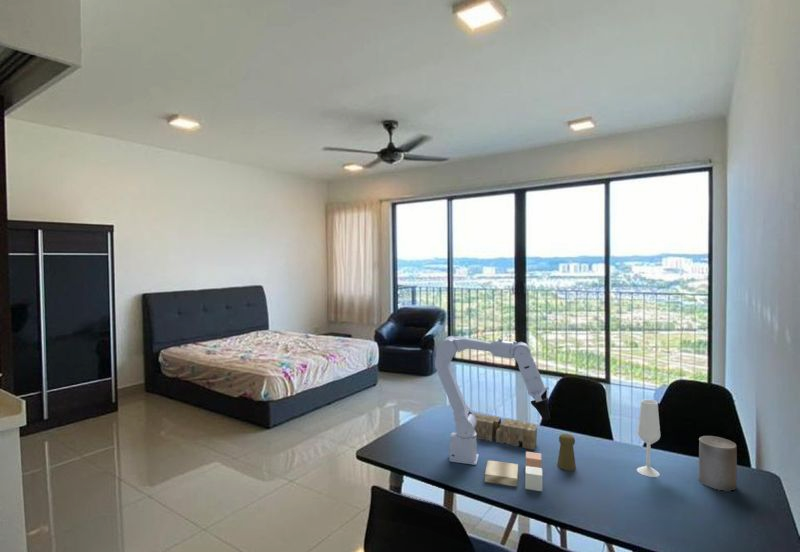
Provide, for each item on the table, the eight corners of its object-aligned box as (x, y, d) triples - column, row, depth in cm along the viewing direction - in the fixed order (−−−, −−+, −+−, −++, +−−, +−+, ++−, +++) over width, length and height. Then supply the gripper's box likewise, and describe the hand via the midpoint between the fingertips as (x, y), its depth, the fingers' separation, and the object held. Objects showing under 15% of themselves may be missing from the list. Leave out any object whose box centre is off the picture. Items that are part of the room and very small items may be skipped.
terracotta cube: (525, 472, 142) (525, 457, 142) (525, 465, 147) (526, 451, 147) (541, 474, 141) (541, 459, 141) (540, 467, 145) (541, 453, 145)
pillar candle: (729, 479, 138) (729, 433, 138) (742, 494, 129) (742, 445, 128) (694, 474, 141) (694, 430, 141) (704, 489, 132) (704, 441, 132)
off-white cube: (525, 489, 132) (525, 473, 131) (525, 481, 136) (525, 465, 136) (542, 491, 130) (542, 475, 130) (541, 483, 135) (542, 468, 135)
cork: (577, 471, 143) (578, 439, 142) (558, 469, 144) (559, 437, 144) (574, 463, 149) (574, 432, 148) (555, 461, 150) (556, 430, 150)
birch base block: (484, 483, 136) (484, 473, 136) (487, 468, 145) (487, 460, 145) (517, 487, 133) (517, 478, 133) (517, 473, 142) (518, 464, 142)
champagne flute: (658, 469, 144) (659, 400, 143) (661, 478, 138) (662, 406, 137) (635, 465, 147) (637, 397, 146) (637, 474, 141) (638, 403, 140)
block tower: (537, 445, 166) (466, 429, 180) (538, 424, 166) (467, 409, 179) (533, 453, 159) (460, 435, 173) (534, 431, 159) (461, 415, 172)
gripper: (543, 379, 136) (560, 420, 134) (542, 369, 149) (557, 405, 148) (522, 385, 138) (538, 425, 136) (523, 374, 151) (537, 411, 150)
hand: (546, 415), depth 142 cm, fingers open, 7 cm apart
